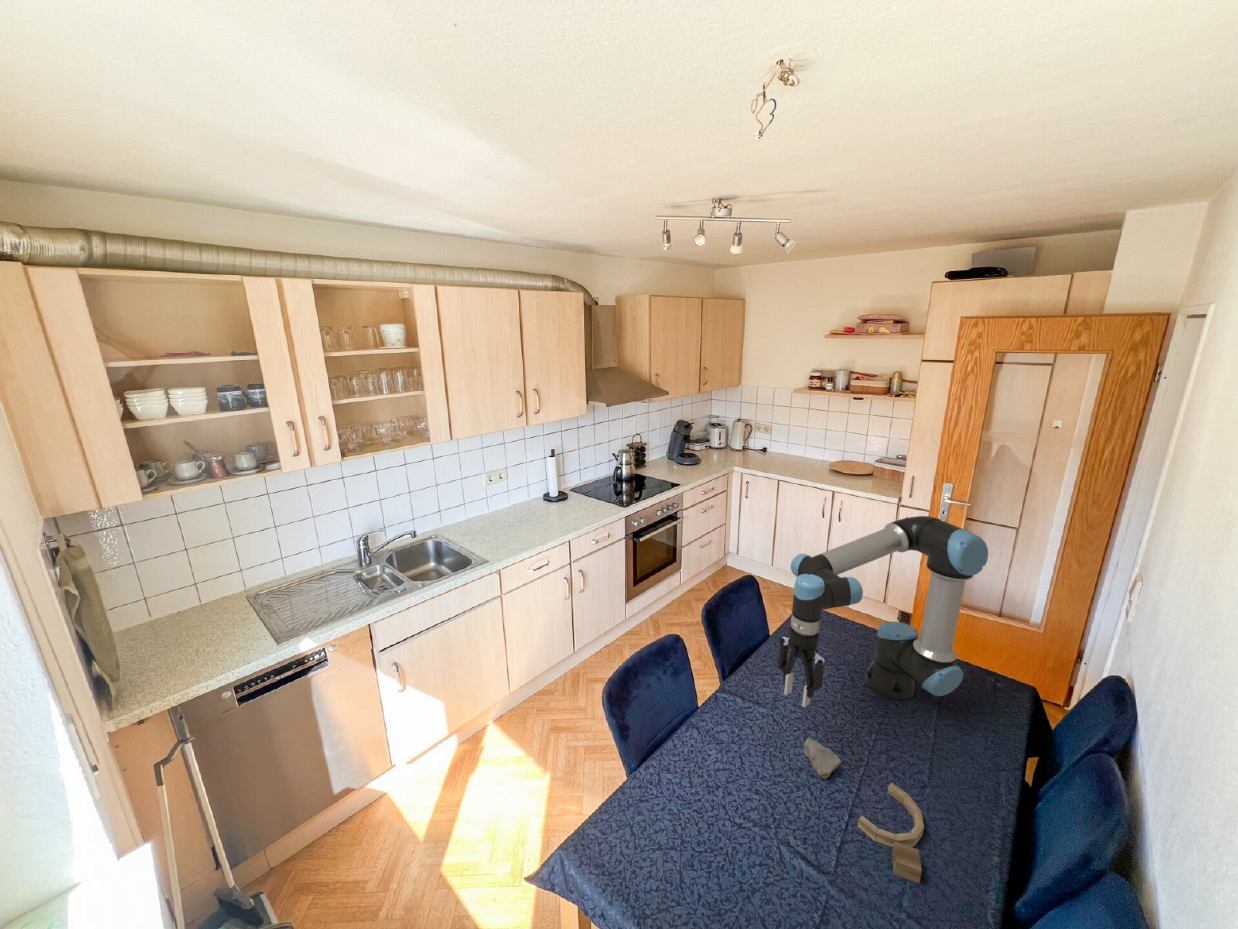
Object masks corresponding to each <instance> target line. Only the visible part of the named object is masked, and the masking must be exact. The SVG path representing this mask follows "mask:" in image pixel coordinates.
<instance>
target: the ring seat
mask: <svg viewBox="0 0 1238 929" xmlns="http://www.w3.org/2000/svg"><path fill="white" fill-rule="evenodd" d="M886 792H887V794H888V795H890V797H892V798H894V800H896V801H898V802H900V803H901V804H902V805H903V807H905V809H906V810H907V811H908V813H909V814H910V815H911V817H912V820H913V825H914V827H913V828H912V829H911V830H910V832H903V833H894V832H893V833H892V832H889V831H886V830H885V829H884V830H883V829H881V828H878V827H877V826H876V825H874V824H873V823H872V822H870V821H869V820H868V819H867V818H866V817H865V816H864V815H861V816H860V817H859V818H858V820H857V825H856V827H857V828H858V829H860V830H861V831H862V832H863V833H864V834H866V835H867V836H868V837H869V838H871V839H872V840H873V841H875V842H876V843H879V844H881V845H882V844H883V845H885V846H888V847H890V848H893V845H894V841H895V842H898V843H901V844H904V845H906V846H909V847H912V848H914V847H915V846H916V845H917V843H918V842H919V841H920V839H921V838H922V837H923V834H924V829H925V824H924V818H923V813H922V810H921V809H920V808H919V806H918V805H917V803H916V802H915V801H914V800H913V798H912V797H911V796H910V794H908V793H907V792H905V791H904V790H903V789H901V788H900V787H898V786H897V785H895V784H894V783H892V782H891V783H889V785H888V789H887V791H886Z"/></svg>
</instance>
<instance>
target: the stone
mask: <svg viewBox="0 0 1238 929" xmlns="http://www.w3.org/2000/svg"><path fill="white" fill-rule="evenodd" d="M803 753H804V756H805V757H807V758H808V759H809V761H810V764H811V767H812V769H813V771H814V772H816V774H817V776H818V777H819V778H821V779H822V780H826V779H828V778H829V777H830V776H831V774H832V773H833V772H834V771H835V770H836V769H837V768H838V767H839V766H840V764H841V759H840V758H839V756H838V755H837V754H835V753H834V752H833V751H832V749H830V748H827V747H824V746H823V745H822V744H821V743H820V742H819V741H817V740H815V739H813V738H811V737H808V738H807V739H806V740H805V742H804V748H803Z"/></svg>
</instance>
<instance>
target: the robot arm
mask: <svg viewBox="0 0 1238 929" xmlns="http://www.w3.org/2000/svg"><path fill="white" fill-rule="evenodd" d="M908 551H916V552H919V553H921V554H922V555H925V556H927V560H926V561H927V562H926V568H927V570H928V571H929V572H930V573H931V574H930V578H929V582H928V583H929V584H928V589H927V594H926V602H925V607H924V611H923V612H924V613H923V619H922V624H921V629H920V635H919V631H918V629H917V628H915V627H914V626H912V625H910V624H908V623H904V622H899V621H885V622H883V623H881V624H880V625H879V627H878V631H877V634H876V642H875V648H874V654H873V655H874V656H873V660H872V662H870V664H869V666H868V667H867V669H866V671H865V683H866V684H867V685H868V687H869V688H871V690H873V691H874V692H876V693H877V694H879V695H880V696H882V697H886V698H887V699H892V700H896V701H898V700H899V701H903V700H905V701H906V700H909V699H911V698H912V697H913V696H914V695H915V688H916V687H915V686H916V685H915V683H916V684H918V685H919V686H920V687H921V688H922V689H923V690H926V692H928V693H930V694H931V695H933V696H935V697H942V696H946V695H949V694H951V693H952V692H953V691H954V690H956V689H957V688H958V687H959V686H960V685H961V683H962V681H963V678H964V672H963V670H962V668H961V667H960V666H958V665H957V664H956V662H957V654H958V653H956V651H955V650H954V648H953V646H954V642H955V641H954V640H955V636H956V632H957V626H958V621H959V616H960V610H961V606H962V601H963V595H964V591H965V585H966V581H968V580H970V579H972V578H973V577H974V576H975V575H977V574H979V573H980V572H981V571H983V567H984V566H986V564H987V562H988V558H989V548H988V546H987V543H986V542H985V540H984V539H983V538H982V537H981V536H979V535H977V534H976V533H973V532H972V531H970V530H967V529H963V528H962V527H959V526H956V525H955V524H951V523H949V522H946V521H945V520H941V519H940V518H937V517H933V516H929V515H928V516H927V515H926V516H925V515H919V516H911V517H906V518H900V519H897V520H895V521H892V522H889V523H887V524H886V525H885V526H884V528H883V529H881V530H877V531H875V532H872V533H870V534H868V535H865V536H863V537H860V538H857V539H855V540H852V541H850V542H847V543H845V544H842V545H839V546H837V547H834V548H832V549H830V550H827V551H824V552H822V553H819V554H816V555H814V556H811V555H808V554H807V553H799V554H796V556H795V557H794V558H793V559H792V561H791V563H790V570H791V573H792V574H793V575H794V576H795V577H796V579H795V582H794V587H793V596H792V597H793V598H792V607H791V617H790V618H791V619H790V628H789V636H787V635H784V636H783V637H781V638H780V639H779V645H780V647H779V648H780V650H779V656H778V664H777V667H778V668H779V669H780V670H782V672H783V679H782V680H783V683H784V691H783V694H784V695H785V696H787V695H789V694H790V693H792V692H793V684H794V681H793V680H794V674H795V673H794V672H793V668H794V665H795V664H796V661H797V659H800V661H801V662H802V663H801V664H802V666H803V667H804V675H805V681H806V685H804V687H803V696H802V702H801V705H802V707H803V708H806V707H807V706H809V705H810V704H811V699H812V698H813V697H814V696H815V692H817V691H819V689H821V688H822V687H823V680H824V679H823V678H824V671H825V670H824V668H825V664H826V662H827V658H826V657H824V656H821V655H820V654H818V649H817V648H818V647H817V646H818V643H819V635H820V634H819V632H820V627H821V626H820V625H821V618H822V613H823V610H829V609H834V608H841V607H849V606H852V605H856V604H858V603H860V602H861V600H863V596H864V595H863V594H864V591H863V587H862V585H861V583H860V581H859V580H858V579H857V578H855V577H853V576H843V577H841V576H839V575H841V574H843V573H846V572H848V571H851V570H853V569H855V568H858V567H860V566H863V565H866V564H868V563H871V562H873V561H875V560H877V559H881V558H883V557H886V556H889V555H891V554H893V553H896V552H898V553H906V552H908ZM789 648H790V649H789ZM789 650H791V651H790V653H789ZM788 655H789V656H788ZM814 660H815V661H814ZM814 663H815V666H814Z"/></svg>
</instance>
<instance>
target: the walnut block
mask: <svg viewBox="0 0 1238 929" xmlns="http://www.w3.org/2000/svg"><path fill="white" fill-rule="evenodd" d="M891 859H892V868H893V875H895V876H897V877H900V878H903V879H906V880H909V881H911V882H914V883H917V884H920V882H921V876H922V872H923V869H922V863H921V856H920V849H917V848H914V847H909V846H906V845H904V844H901V843H898V842H895V841H894V845H893V847H892V850H891Z"/></svg>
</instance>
